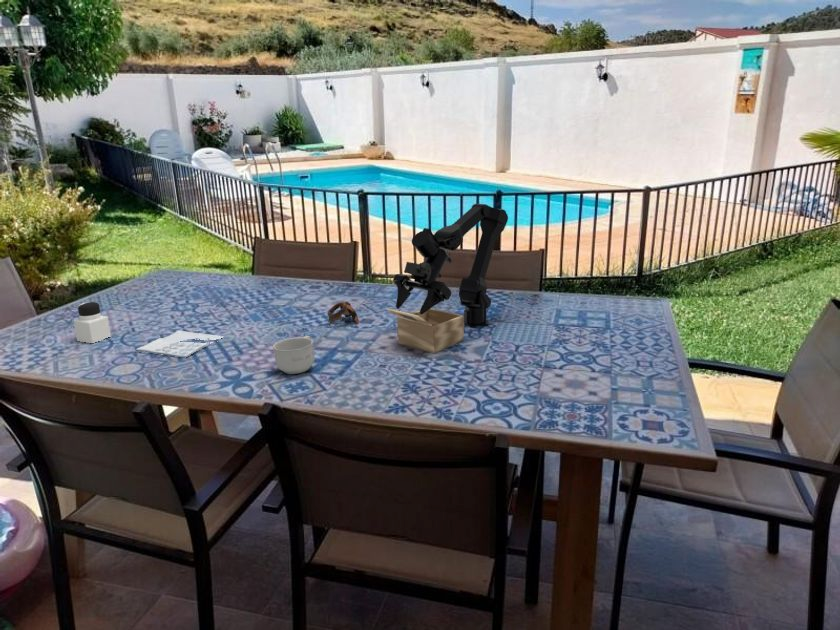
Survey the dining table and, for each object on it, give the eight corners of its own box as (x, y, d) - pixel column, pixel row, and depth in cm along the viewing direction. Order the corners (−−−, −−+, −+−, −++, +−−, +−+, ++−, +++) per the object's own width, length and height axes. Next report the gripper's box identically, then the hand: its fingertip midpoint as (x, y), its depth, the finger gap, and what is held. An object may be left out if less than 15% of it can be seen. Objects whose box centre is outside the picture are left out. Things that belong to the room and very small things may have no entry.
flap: (387, 308, 185) (386, 309, 185) (418, 315, 177) (418, 317, 177) (400, 317, 190) (399, 318, 190) (432, 324, 182) (431, 326, 182)
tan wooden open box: (428, 331, 203) (427, 307, 201) (465, 340, 194) (465, 315, 192) (397, 343, 193) (396, 318, 191) (434, 353, 184) (434, 327, 181)
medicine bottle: (111, 337, 204) (105, 301, 200) (92, 344, 197) (85, 307, 194) (96, 334, 206) (90, 299, 203) (76, 341, 200) (70, 305, 197)
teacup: (296, 380, 167) (294, 352, 164) (266, 372, 172) (264, 345, 170) (330, 363, 178) (328, 336, 176) (301, 356, 183) (299, 330, 181)
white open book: (134, 354, 190) (133, 347, 189) (180, 333, 208) (179, 327, 207) (186, 361, 184) (185, 354, 183) (229, 339, 202) (228, 332, 201)
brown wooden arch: (359, 328, 209) (346, 309, 205) (335, 339, 212) (322, 321, 208) (363, 309, 219) (350, 291, 216) (340, 320, 222) (327, 302, 218)
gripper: (395, 247, 187) (370, 291, 183) (444, 254, 176) (419, 301, 171) (414, 268, 195) (390, 310, 191) (461, 276, 184) (438, 322, 179)
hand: (408, 310), depth 183 cm, fingers open, 9 cm apart
